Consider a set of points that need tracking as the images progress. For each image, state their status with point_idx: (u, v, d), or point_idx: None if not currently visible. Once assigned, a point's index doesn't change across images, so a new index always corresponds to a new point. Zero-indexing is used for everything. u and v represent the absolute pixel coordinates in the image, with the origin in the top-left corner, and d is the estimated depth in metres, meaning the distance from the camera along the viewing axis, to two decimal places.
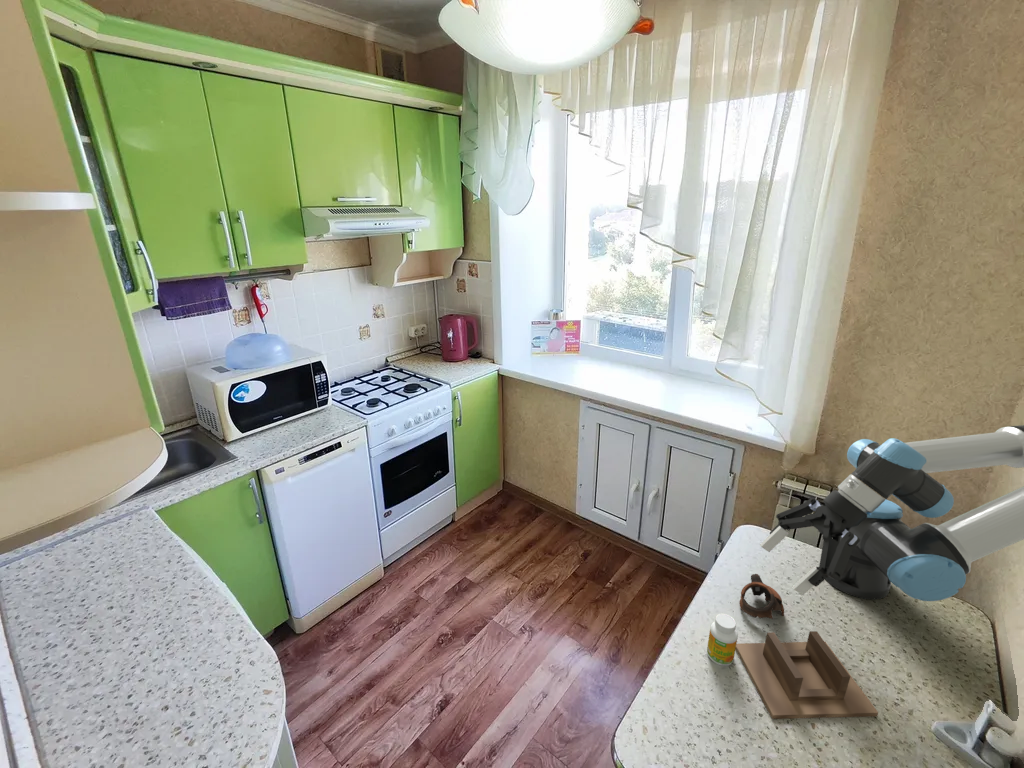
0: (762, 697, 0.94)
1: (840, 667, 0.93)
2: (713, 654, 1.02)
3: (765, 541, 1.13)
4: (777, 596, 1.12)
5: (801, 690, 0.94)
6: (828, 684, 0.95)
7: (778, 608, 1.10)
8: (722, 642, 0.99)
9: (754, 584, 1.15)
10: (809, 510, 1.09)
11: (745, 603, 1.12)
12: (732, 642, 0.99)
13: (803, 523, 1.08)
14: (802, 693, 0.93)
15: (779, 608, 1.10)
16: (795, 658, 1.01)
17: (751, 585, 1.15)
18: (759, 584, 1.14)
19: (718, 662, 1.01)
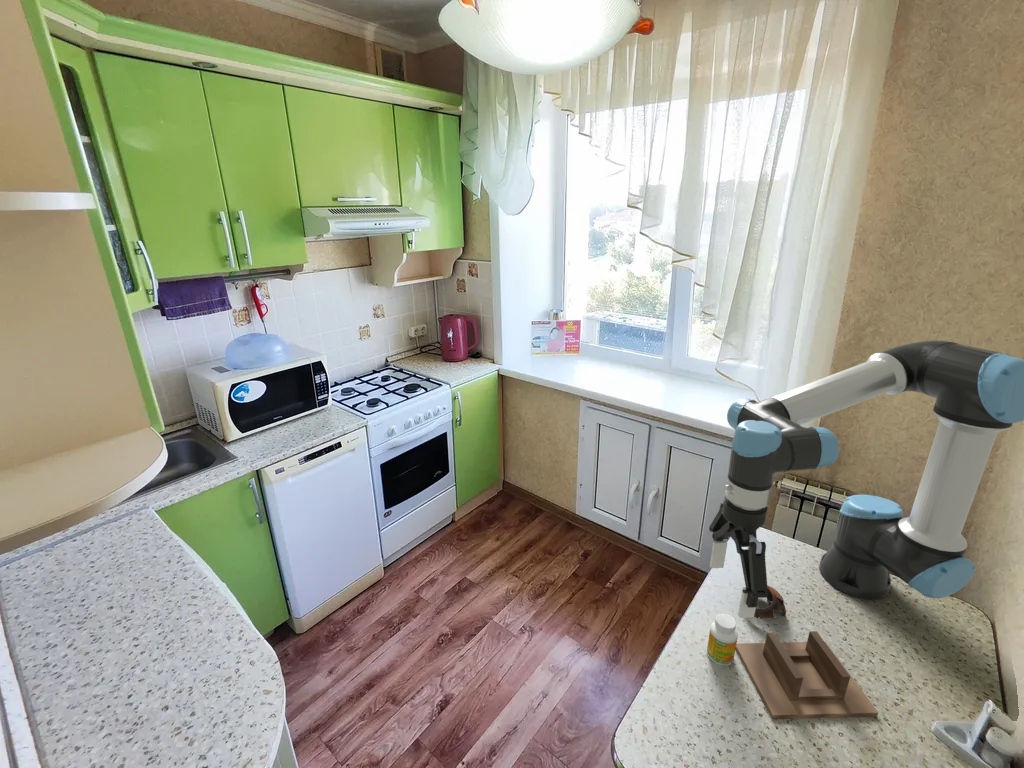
0: (762, 697, 0.94)
1: (840, 667, 0.93)
2: (713, 654, 1.02)
3: (711, 561, 1.04)
4: (779, 596, 1.12)
5: (801, 690, 0.94)
6: (828, 684, 0.95)
7: (780, 609, 1.10)
8: (722, 642, 0.99)
9: None
10: None
11: None
12: (732, 642, 0.99)
13: (727, 533, 0.98)
14: (802, 693, 0.93)
15: (781, 609, 1.10)
16: (795, 658, 1.01)
17: None
18: None
19: (718, 662, 1.01)
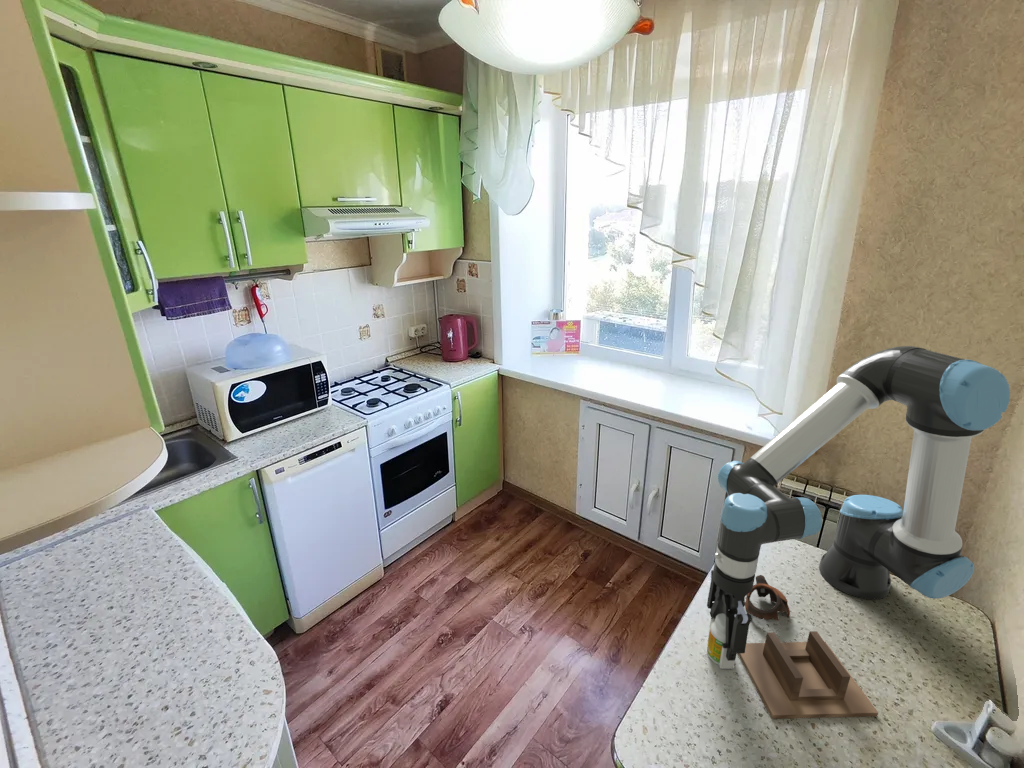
0: (762, 697, 0.94)
1: (840, 667, 0.93)
2: (713, 654, 1.02)
3: None
4: (783, 597, 1.11)
5: (801, 690, 0.94)
6: (828, 684, 0.95)
7: (784, 610, 1.10)
8: None
9: (759, 586, 1.14)
10: None
11: (751, 605, 1.12)
12: None
13: (721, 603, 1.02)
14: (802, 693, 0.93)
15: (785, 610, 1.10)
16: (795, 658, 1.01)
17: (756, 587, 1.14)
18: (764, 585, 1.14)
19: (718, 662, 1.01)
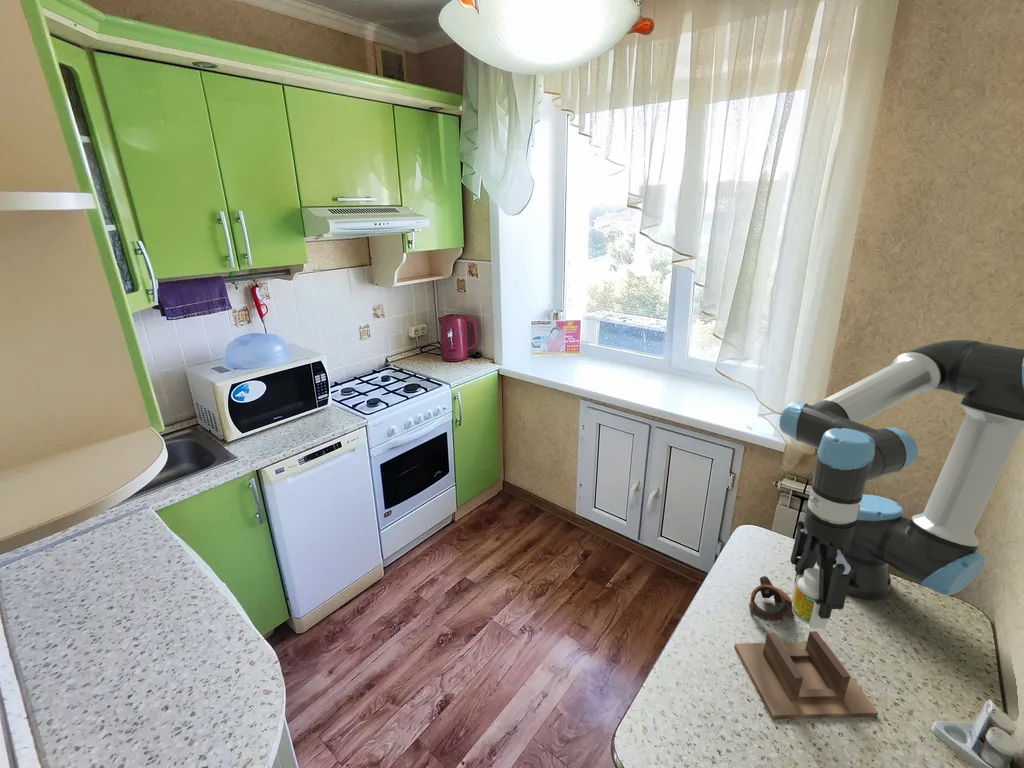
0: (762, 697, 0.94)
1: (840, 667, 0.93)
2: (801, 613, 0.92)
3: (794, 596, 0.96)
4: (787, 599, 1.11)
5: (801, 690, 0.94)
6: (828, 684, 0.95)
7: (789, 611, 1.09)
8: (814, 598, 0.89)
9: (764, 587, 1.14)
10: (807, 535, 0.93)
11: (756, 606, 1.11)
12: None
13: (810, 556, 0.91)
14: (802, 693, 0.93)
15: (790, 611, 1.09)
16: (795, 658, 1.01)
17: (761, 588, 1.14)
18: (769, 587, 1.13)
19: (807, 621, 0.91)
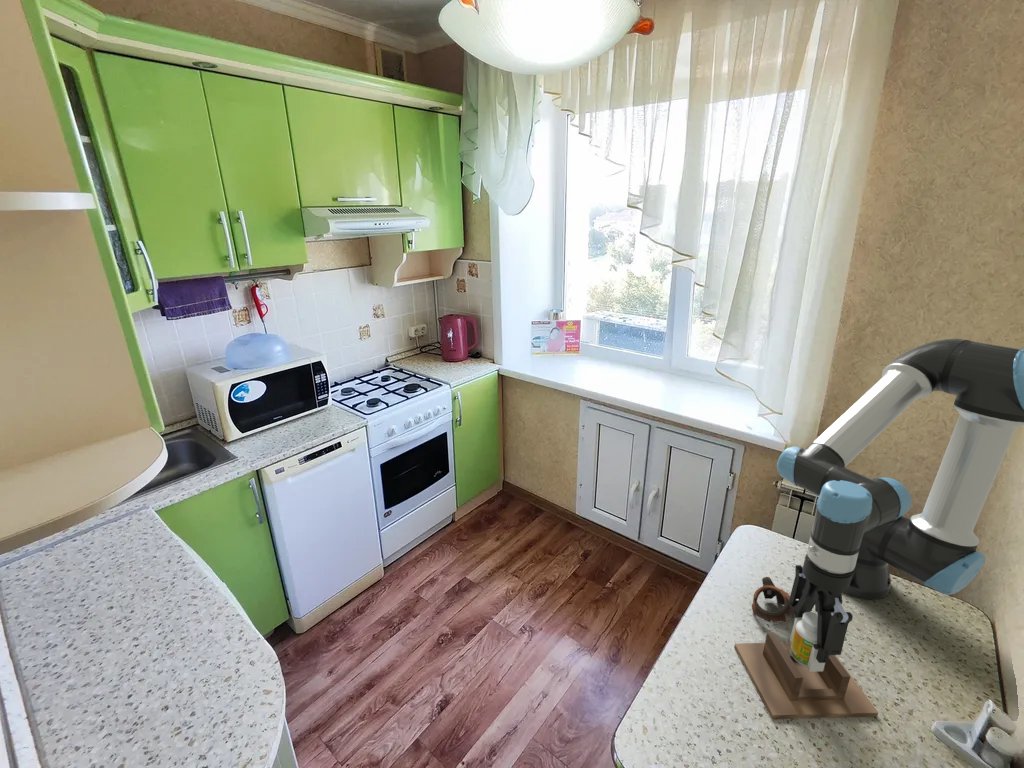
0: (762, 697, 0.94)
1: (840, 667, 0.93)
2: (800, 656, 0.94)
3: (792, 637, 0.98)
4: None
5: (801, 690, 0.94)
6: (828, 684, 0.95)
7: (792, 612, 1.09)
8: (812, 643, 0.92)
9: (766, 588, 1.14)
10: (805, 579, 0.96)
11: (758, 607, 1.11)
12: None
13: (809, 601, 0.94)
14: (802, 693, 0.93)
15: None
16: None
17: (763, 589, 1.14)
18: (772, 587, 1.13)
19: (805, 664, 0.94)
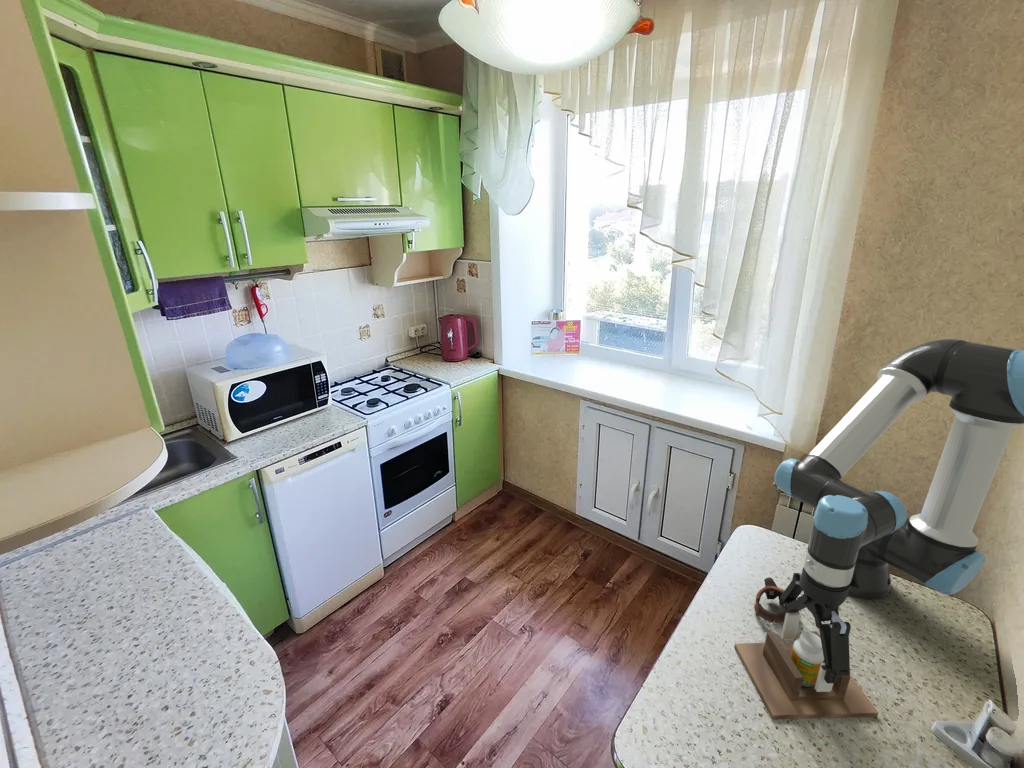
0: (762, 697, 0.94)
1: None
2: None
3: (783, 632, 1.02)
4: None
5: (801, 690, 0.94)
6: None
7: None
8: (809, 663, 0.93)
9: (769, 588, 1.13)
10: (801, 586, 0.97)
11: (761, 608, 1.11)
12: (820, 663, 0.93)
13: (802, 605, 0.96)
14: (802, 693, 0.93)
15: None
16: None
17: (766, 589, 1.14)
18: (774, 588, 1.13)
19: (802, 683, 0.95)
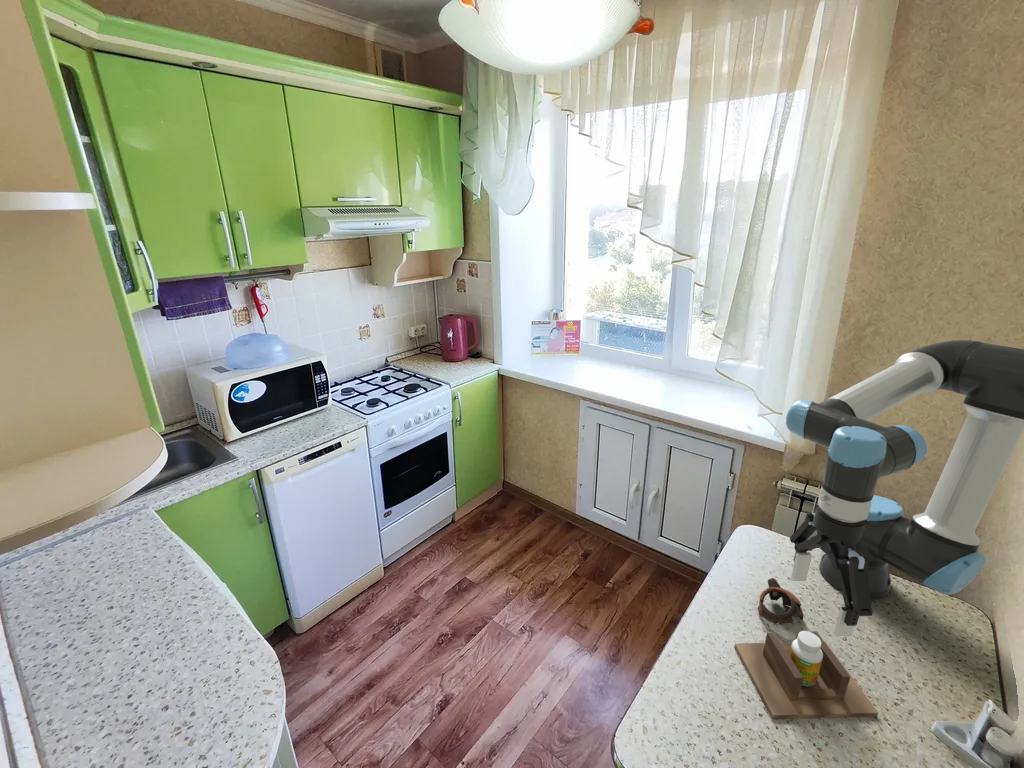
0: (762, 697, 0.94)
1: (840, 667, 0.93)
2: None
3: (793, 573, 0.98)
4: (797, 601, 1.10)
5: (801, 690, 0.94)
6: (828, 684, 0.95)
7: (799, 613, 1.08)
8: (808, 662, 0.94)
9: (773, 589, 1.13)
10: (813, 526, 0.93)
11: (765, 609, 1.11)
12: (818, 662, 0.93)
13: (814, 545, 0.92)
14: (802, 693, 0.93)
15: (800, 613, 1.09)
16: None
17: (770, 590, 1.13)
18: (778, 589, 1.12)
19: (802, 683, 0.95)
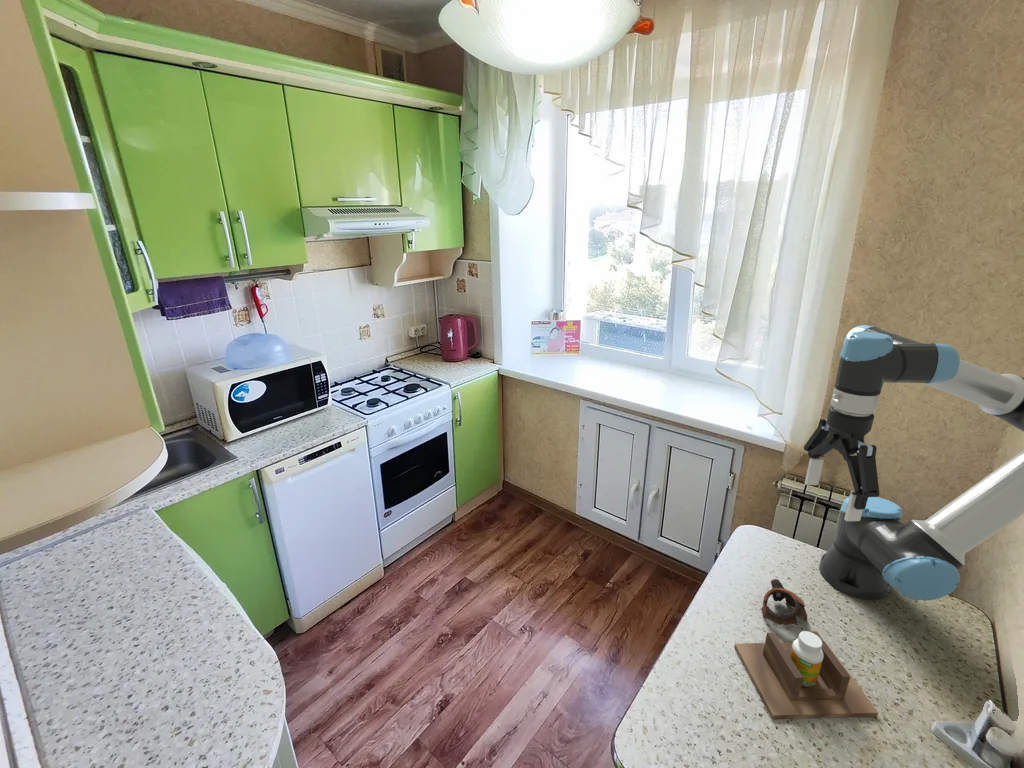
0: (762, 697, 0.94)
1: (840, 667, 0.93)
2: None
3: (807, 478, 1.09)
4: (800, 602, 1.10)
5: (801, 690, 0.94)
6: (828, 684, 0.95)
7: (803, 614, 1.08)
8: (809, 662, 0.93)
9: (776, 590, 1.13)
10: (826, 431, 1.04)
11: (769, 610, 1.10)
12: (819, 662, 0.93)
13: (826, 447, 1.03)
14: (802, 693, 0.93)
15: (804, 614, 1.08)
16: None
17: (773, 591, 1.13)
18: (781, 590, 1.12)
19: (802, 683, 0.95)
